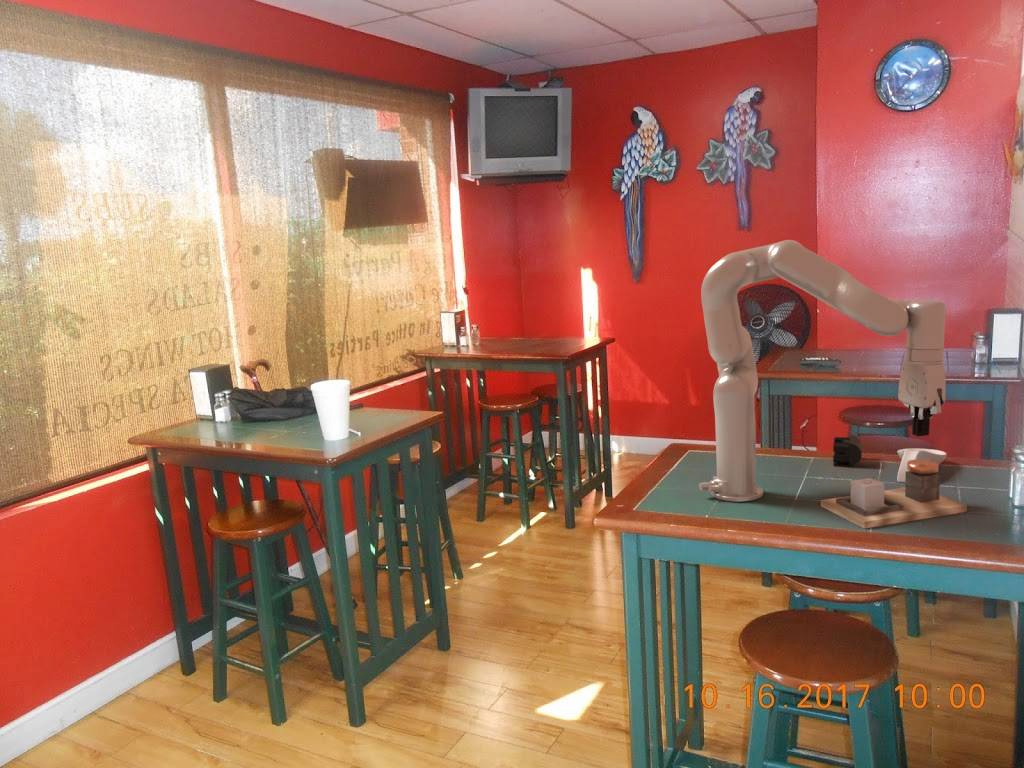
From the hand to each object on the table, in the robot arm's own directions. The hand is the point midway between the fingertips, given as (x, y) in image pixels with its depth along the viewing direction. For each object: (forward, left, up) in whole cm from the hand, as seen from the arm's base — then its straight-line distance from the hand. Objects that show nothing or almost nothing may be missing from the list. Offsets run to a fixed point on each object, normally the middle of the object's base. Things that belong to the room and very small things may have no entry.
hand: (920, 434), depth 186 cm
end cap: (+6, +36, -17) cm, 40 cm away
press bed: (-9, 0, -17) cm, 19 cm away
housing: (-14, 0, -15) cm, 20 cm away
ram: (0, 0, -14) cm, 14 cm away
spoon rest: (+17, +21, -17) cm, 32 cm away
